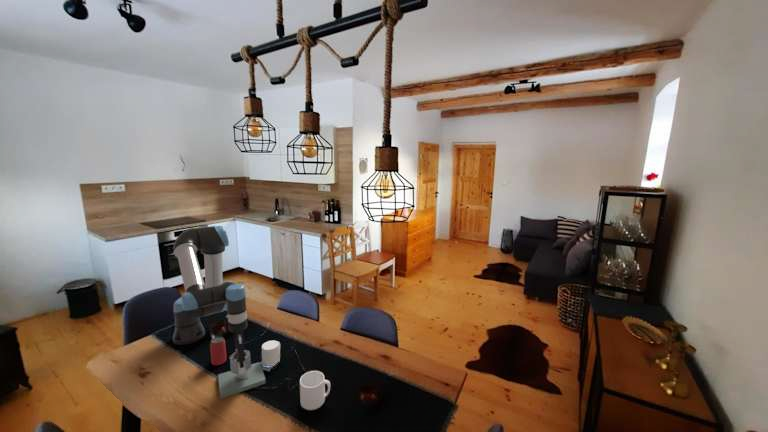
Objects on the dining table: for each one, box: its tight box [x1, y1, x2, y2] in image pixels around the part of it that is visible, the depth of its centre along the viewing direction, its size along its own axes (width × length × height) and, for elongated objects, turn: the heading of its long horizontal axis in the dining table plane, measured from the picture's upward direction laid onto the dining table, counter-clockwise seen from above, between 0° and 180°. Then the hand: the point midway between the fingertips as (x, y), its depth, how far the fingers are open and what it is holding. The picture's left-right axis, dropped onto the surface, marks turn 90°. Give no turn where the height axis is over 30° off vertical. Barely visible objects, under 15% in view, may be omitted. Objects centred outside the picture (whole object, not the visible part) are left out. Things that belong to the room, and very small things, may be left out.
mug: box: [299, 370, 332, 411], centre depth 125 cm, size 13×10×10 cm
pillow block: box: [217, 361, 267, 400], centre depth 135 cm, size 14×18×9 cm
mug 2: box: [261, 339, 281, 366], centre depth 150 cm, size 12×9×8 cm
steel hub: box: [229, 349, 252, 374], centre depth 134 cm, size 8×8×6 cm
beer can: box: [209, 336, 227, 366], centre depth 148 cm, size 7×7×12 cm
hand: (240, 367), depth 135 cm, fingers closed on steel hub, 8 cm apart
